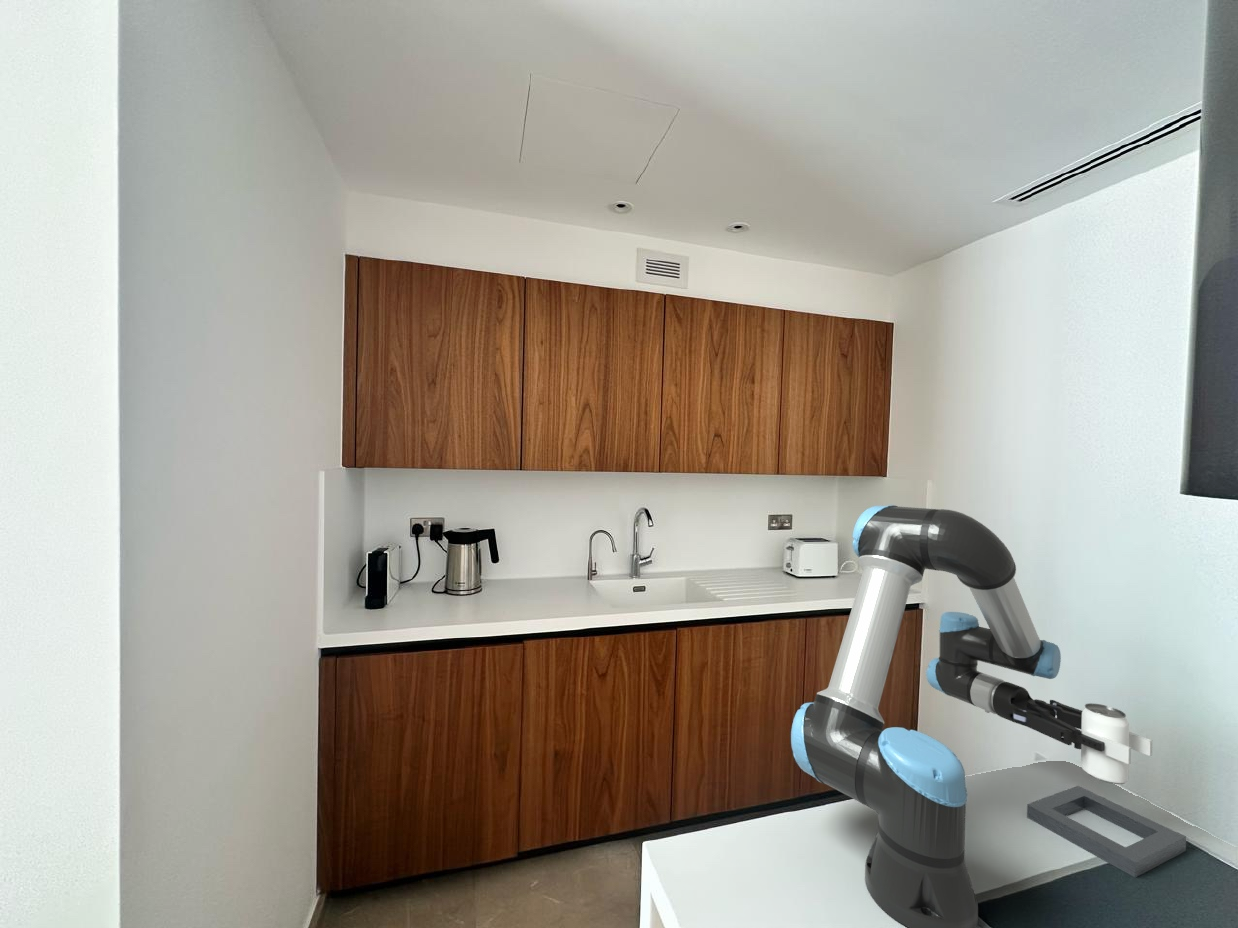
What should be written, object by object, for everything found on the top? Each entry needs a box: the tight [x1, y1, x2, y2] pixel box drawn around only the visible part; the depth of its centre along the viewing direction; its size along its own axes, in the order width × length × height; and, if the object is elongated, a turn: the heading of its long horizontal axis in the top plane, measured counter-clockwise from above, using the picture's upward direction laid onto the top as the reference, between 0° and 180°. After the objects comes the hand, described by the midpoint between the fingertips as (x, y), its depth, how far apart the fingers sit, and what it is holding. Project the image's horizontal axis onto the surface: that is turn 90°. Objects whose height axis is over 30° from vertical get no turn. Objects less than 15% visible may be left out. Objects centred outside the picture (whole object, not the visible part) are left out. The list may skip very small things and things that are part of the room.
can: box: [1080, 702, 1130, 785], centre depth 97 cm, size 6×6×12 cm
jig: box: [1026, 785, 1187, 878], centre depth 97 cm, size 17×16×2 cm
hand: (1140, 751), depth 92 cm, fingers closed on can, 6 cm apart
